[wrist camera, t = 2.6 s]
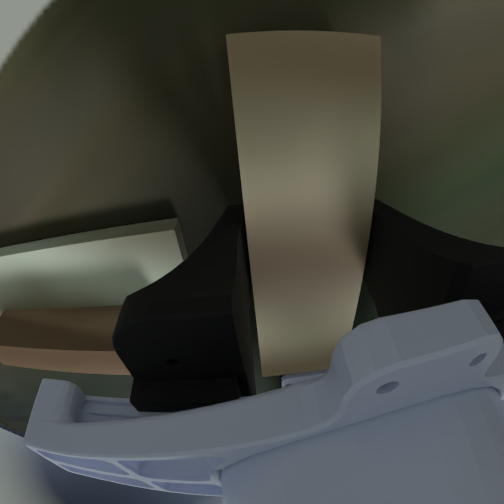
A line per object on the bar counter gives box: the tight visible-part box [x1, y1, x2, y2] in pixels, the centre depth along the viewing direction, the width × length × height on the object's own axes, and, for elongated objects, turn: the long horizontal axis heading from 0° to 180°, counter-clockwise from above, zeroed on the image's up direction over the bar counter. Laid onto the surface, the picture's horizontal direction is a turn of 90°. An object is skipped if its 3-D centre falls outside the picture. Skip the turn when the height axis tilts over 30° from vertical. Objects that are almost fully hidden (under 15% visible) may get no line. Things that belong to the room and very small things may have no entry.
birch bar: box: [226, 30, 382, 377], centre depth 12 cm, size 14×4×4 cm, turn 5°
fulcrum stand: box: [0, 218, 188, 375], centre depth 15 cm, size 10×15×4 cm, turn 96°
